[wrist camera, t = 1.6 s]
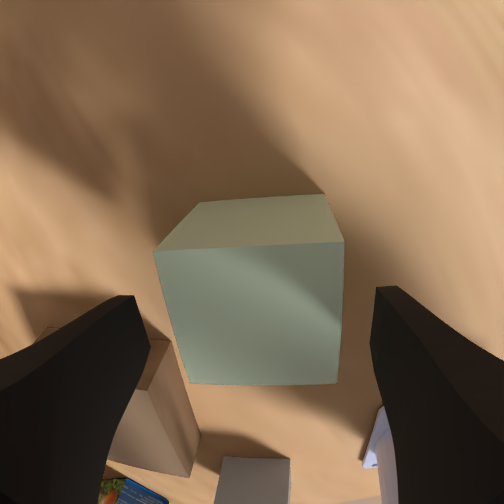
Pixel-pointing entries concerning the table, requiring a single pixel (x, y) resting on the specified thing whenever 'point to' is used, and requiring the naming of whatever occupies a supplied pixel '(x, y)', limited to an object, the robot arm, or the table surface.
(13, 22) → the table surface
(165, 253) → the sage cube
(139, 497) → the blue food package
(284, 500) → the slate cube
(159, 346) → the walnut block
